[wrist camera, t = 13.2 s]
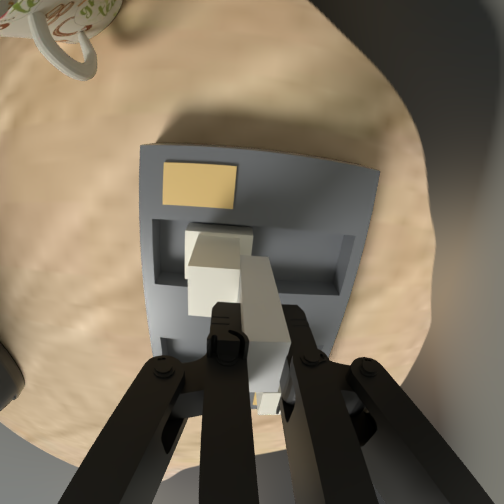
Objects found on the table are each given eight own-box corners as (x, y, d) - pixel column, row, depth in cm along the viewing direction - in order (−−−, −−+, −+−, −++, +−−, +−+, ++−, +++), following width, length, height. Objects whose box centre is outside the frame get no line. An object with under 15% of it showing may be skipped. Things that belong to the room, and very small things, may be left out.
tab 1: (188, 267, 19) (173, 316, 14) (189, 222, 17) (170, 260, 12) (247, 272, 19) (251, 322, 14) (252, 227, 18) (258, 267, 13)
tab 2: (244, 364, 23) (246, 416, 18) (247, 337, 21) (251, 391, 16) (289, 364, 23) (300, 415, 18) (296, 338, 22) (310, 390, 17)
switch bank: (166, 379, 25) (161, 403, 22) (154, 143, 16) (139, 145, 14) (302, 385, 26) (307, 408, 24) (360, 164, 18) (381, 171, 15)
